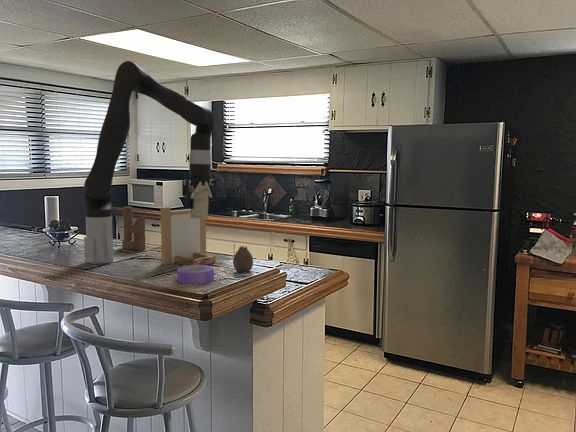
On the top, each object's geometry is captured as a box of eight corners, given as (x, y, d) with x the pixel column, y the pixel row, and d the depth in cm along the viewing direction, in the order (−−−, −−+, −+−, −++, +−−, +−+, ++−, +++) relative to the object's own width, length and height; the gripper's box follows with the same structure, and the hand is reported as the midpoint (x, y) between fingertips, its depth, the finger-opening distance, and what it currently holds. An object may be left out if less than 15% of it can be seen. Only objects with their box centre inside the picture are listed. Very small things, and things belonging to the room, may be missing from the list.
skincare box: (190, 218, 178) (191, 184, 176) (190, 217, 182) (190, 184, 181) (208, 218, 179) (209, 185, 178) (207, 217, 183) (208, 184, 182)
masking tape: (186, 286, 153) (186, 274, 152) (171, 278, 162) (171, 267, 161) (220, 281, 159) (220, 269, 159) (203, 274, 169) (203, 263, 168)
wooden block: (139, 250, 209) (138, 208, 207) (122, 248, 215) (120, 207, 213) (145, 249, 212) (144, 207, 210) (128, 247, 218) (127, 206, 216)
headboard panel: (165, 264, 182) (164, 207, 180) (161, 263, 184) (160, 207, 181) (206, 256, 198) (206, 204, 195) (202, 256, 199) (201, 204, 197)
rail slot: (193, 267, 179) (193, 260, 178) (174, 262, 186) (174, 256, 185) (215, 262, 187) (215, 256, 187) (196, 258, 194) (196, 252, 193)
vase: (243, 268, 177) (242, 244, 176) (257, 271, 173) (257, 246, 172) (228, 271, 172) (228, 246, 171) (243, 275, 167) (243, 249, 166)
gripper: (208, 163, 186) (207, 206, 188) (177, 162, 175) (176, 208, 177) (222, 163, 181) (221, 208, 183) (190, 162, 171) (190, 210, 172)
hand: (199, 208), depth 180 cm, fingers closed on skincare box, 7 cm apart
